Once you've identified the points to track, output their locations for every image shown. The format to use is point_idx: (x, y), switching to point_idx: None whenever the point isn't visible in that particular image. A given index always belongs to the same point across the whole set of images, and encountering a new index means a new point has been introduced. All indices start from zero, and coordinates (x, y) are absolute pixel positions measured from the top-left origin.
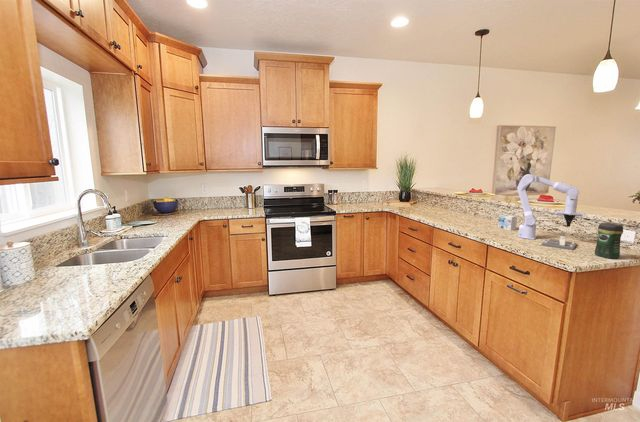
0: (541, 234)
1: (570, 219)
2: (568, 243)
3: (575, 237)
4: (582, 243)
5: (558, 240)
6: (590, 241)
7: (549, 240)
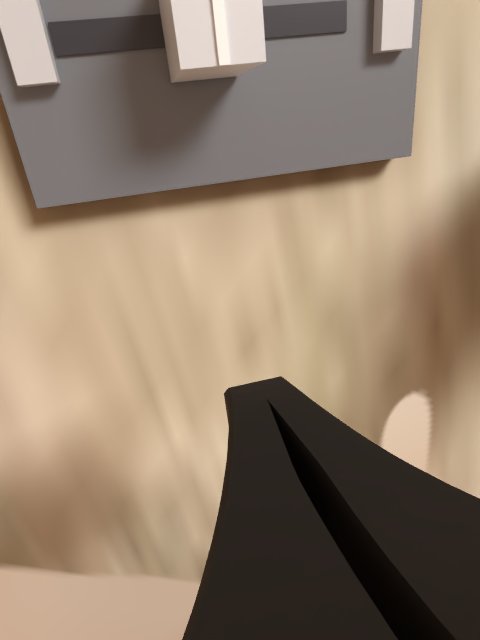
0: (463, 444)
1: (293, 590)
2: (92, 3)
3: None
4: (38, 359)
5: (274, 154)
6: (41, 532)
7: (374, 8)
